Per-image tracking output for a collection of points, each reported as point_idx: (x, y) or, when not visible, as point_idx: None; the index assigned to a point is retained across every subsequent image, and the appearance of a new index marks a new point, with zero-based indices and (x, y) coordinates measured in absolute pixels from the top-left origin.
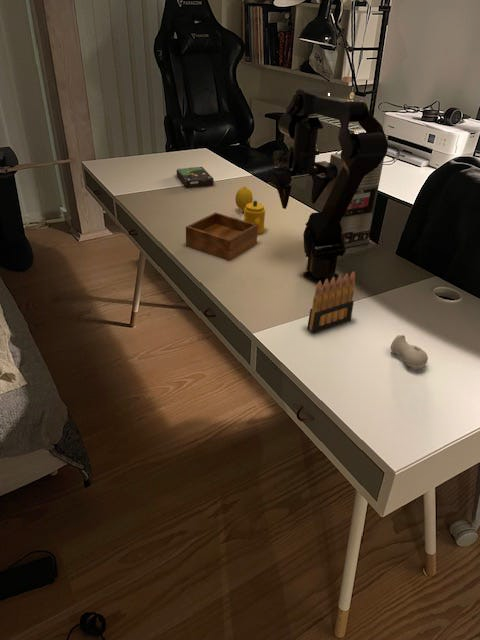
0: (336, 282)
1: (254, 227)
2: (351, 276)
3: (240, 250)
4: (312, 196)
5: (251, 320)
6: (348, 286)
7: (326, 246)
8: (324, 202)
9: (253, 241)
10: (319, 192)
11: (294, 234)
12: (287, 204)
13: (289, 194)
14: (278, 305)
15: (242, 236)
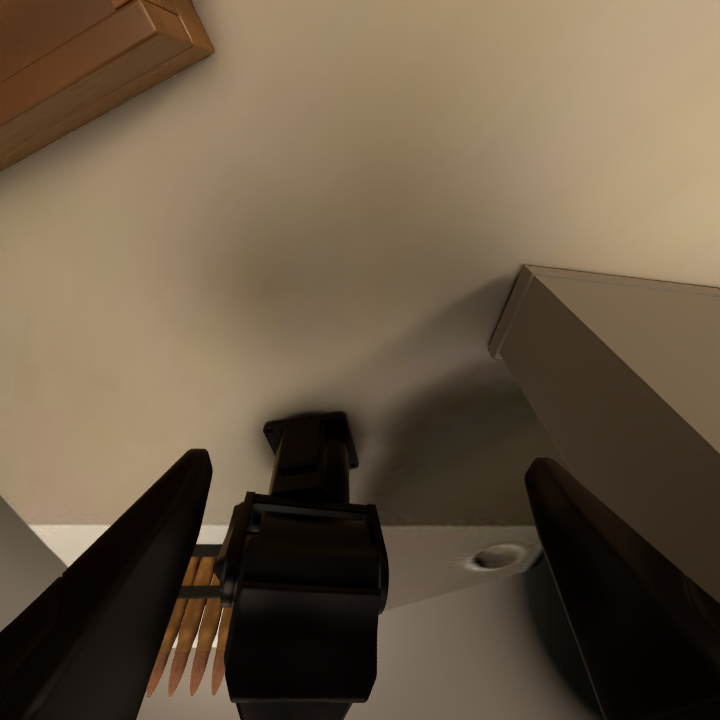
0: (171, 667)
1: (111, 63)
2: (212, 678)
3: (43, 142)
4: (565, 521)
5: (29, 500)
6: (217, 644)
7: (501, 327)
8: (688, 425)
9: (165, 72)
10: (581, 634)
11: (534, 76)
12: (199, 530)
13: (133, 711)
14: (119, 486)
15: None
